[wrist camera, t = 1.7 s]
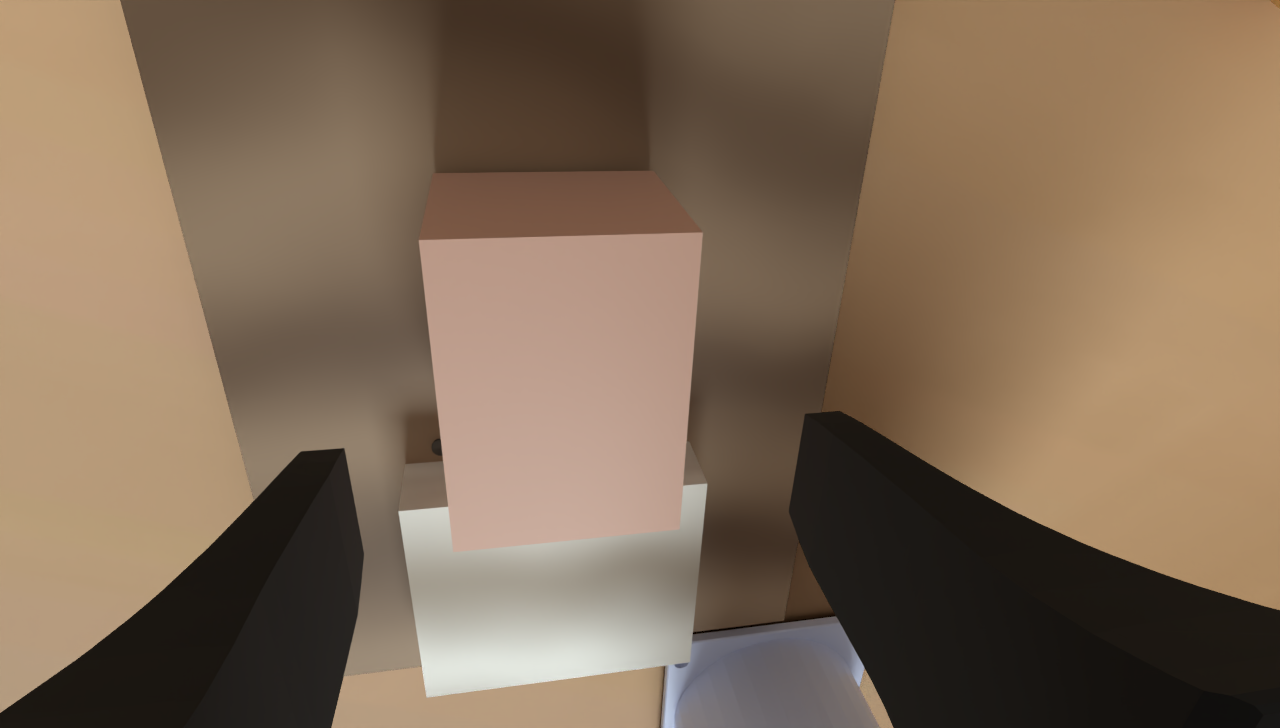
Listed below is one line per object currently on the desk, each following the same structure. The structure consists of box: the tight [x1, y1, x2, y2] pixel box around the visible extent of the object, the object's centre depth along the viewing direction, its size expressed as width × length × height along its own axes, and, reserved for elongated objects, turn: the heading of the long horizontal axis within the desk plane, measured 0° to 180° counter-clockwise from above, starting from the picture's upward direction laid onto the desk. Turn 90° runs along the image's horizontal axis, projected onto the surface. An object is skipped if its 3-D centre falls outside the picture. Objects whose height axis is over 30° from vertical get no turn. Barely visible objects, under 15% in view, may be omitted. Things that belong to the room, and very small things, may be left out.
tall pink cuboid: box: [419, 171, 703, 552], centre depth 17 cm, size 7×5×4 cm
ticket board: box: [120, 0, 895, 697], centre depth 19 cm, size 22×16×3 cm
